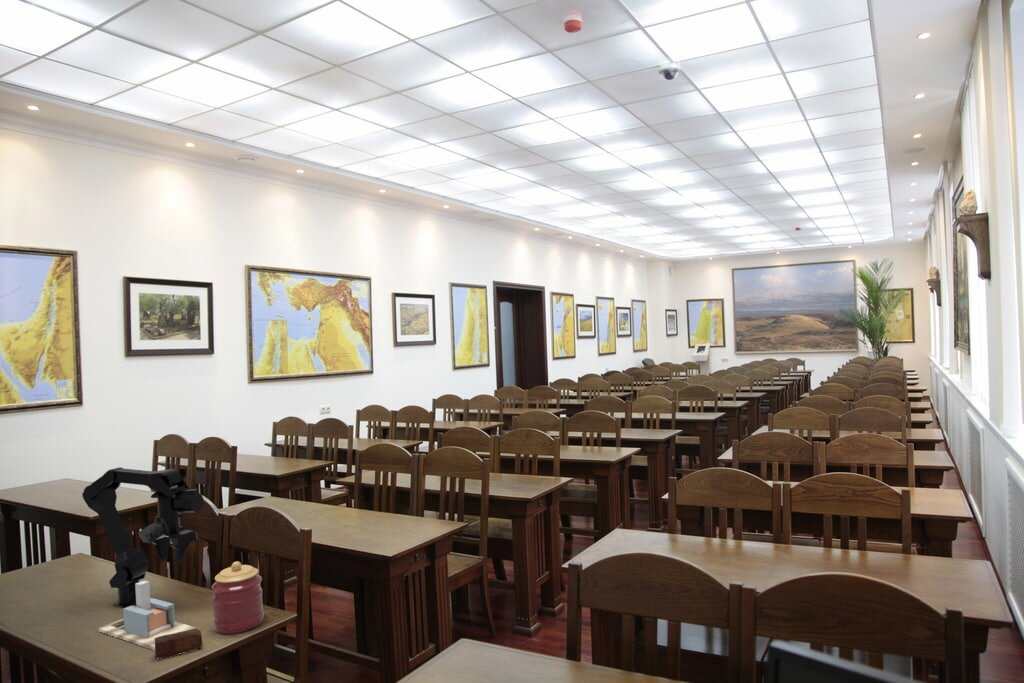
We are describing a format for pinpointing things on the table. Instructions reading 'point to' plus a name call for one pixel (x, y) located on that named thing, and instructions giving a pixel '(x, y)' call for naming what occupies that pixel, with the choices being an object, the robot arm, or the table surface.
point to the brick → (177, 643)
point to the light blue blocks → (146, 617)
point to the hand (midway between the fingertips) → (171, 562)
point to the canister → (237, 599)
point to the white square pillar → (143, 601)
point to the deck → (118, 631)
